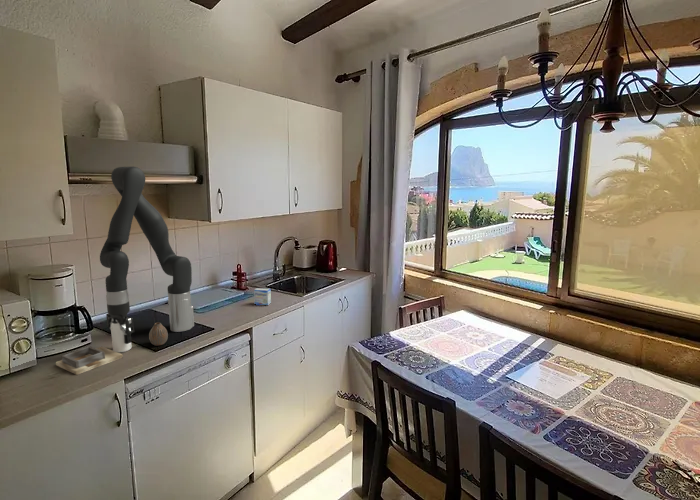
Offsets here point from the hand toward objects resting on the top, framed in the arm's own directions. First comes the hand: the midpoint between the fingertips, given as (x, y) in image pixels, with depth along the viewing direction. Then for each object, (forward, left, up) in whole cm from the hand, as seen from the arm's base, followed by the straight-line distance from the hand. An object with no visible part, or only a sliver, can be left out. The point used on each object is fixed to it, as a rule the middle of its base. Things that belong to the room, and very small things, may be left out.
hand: (121, 340), depth 155 cm
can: (0, 0, -4) cm, 4 cm away
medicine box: (-73, +7, -4) cm, 73 cm away
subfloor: (+12, 0, -4) cm, 13 cm away
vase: (-11, +7, -4) cm, 14 cm away
